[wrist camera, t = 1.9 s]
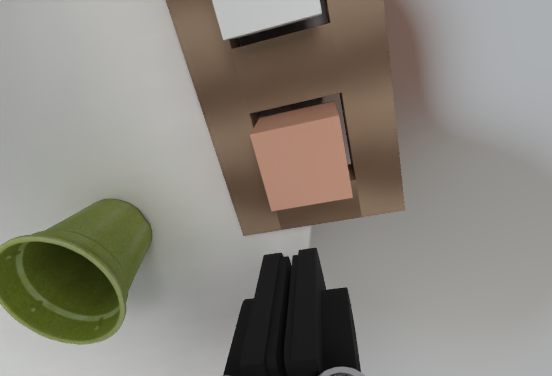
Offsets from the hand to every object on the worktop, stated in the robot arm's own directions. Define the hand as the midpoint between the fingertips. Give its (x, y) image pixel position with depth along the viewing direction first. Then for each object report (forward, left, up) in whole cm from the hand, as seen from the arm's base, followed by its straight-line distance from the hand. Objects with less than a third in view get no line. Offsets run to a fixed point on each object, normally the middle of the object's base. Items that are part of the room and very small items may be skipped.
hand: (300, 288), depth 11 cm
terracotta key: (0, 0, -14) cm, 14 cm away
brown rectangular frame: (-5, 0, -16) cm, 17 cm away
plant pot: (+5, -18, -17) cm, 25 cm away
